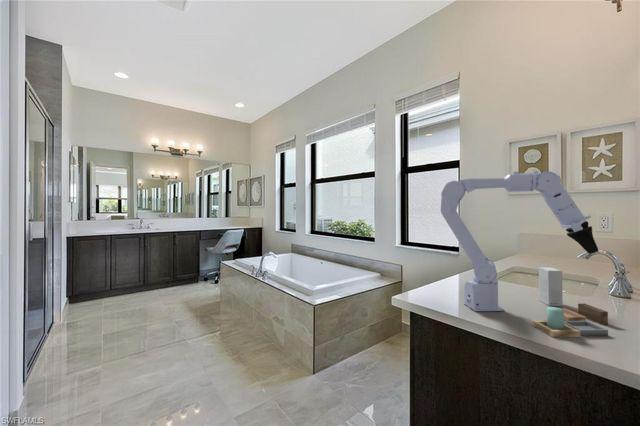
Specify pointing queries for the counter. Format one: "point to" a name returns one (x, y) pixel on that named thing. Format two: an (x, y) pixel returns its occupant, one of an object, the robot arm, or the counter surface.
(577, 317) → the tan cardboard block
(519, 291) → the counter surface
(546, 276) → the skincare box
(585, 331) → the tray
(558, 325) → the teal capsule
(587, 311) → the stop block
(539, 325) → the socket block
